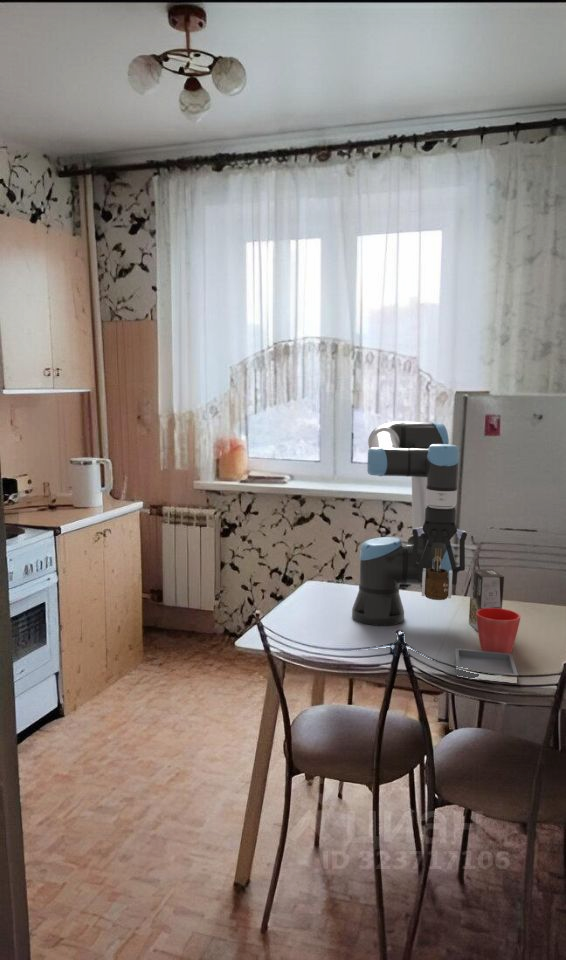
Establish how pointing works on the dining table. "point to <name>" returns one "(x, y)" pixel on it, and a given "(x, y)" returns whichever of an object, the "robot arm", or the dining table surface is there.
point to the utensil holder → (437, 581)
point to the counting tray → (484, 662)
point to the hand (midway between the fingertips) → (436, 595)
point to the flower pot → (497, 629)
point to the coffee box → (485, 592)
